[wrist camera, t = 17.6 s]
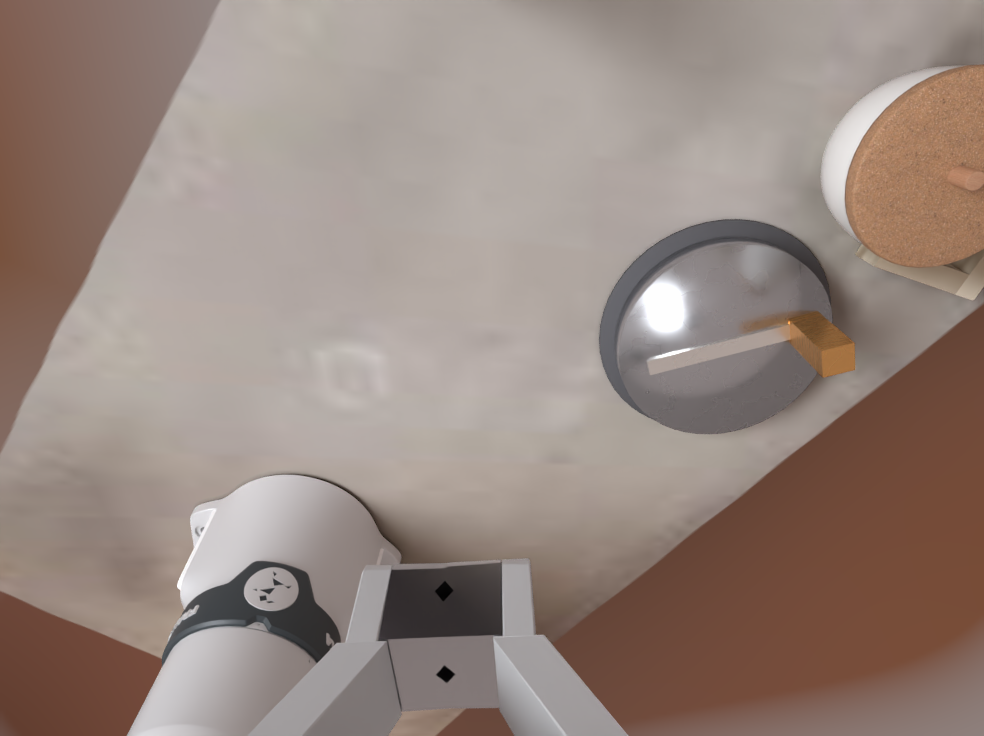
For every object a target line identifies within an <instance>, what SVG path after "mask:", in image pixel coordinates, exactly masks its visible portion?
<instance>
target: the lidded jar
mask: <svg viewBox="0 0 984 736" xmlns="http://www.w3.org/2000/svg"><path fill="white" fill-rule="evenodd" d="M821 185H822V191H823V195H824V199H825V202H826V205H827V206H828V208H829V210H830V212H831V214H832V215H833V217H834V218H835V220H836V221H837V222H838V223H839V224H840V226H841V227H842V228H843V229H844V230H845V231H846V232H847V233H848V234H849V235H851V236H852V237H853V238H855V239H856V240H857V241H859V242H860V243H862V244H863V245H864V246H865V247H866V248H868V249H869V250H870V251H871V252H873V253H874V254H876V255H877V256H879V257H881V258H883V259H885V260H887V261H889V262H891V263H894V264H898V265H901V266H905V267H915V268H924V267H935V266H941V265H946V264H950V263H953V262H956V261H959V260H962V259H965V258H967V257H969V256H971V255H973V254H975V253H977V252H979V251H981V250H983V249H984V65H967V66H941V67H934V68H928V69H923V70H919V71H914V72H911V73H908V74H905V75H902V76H899V77H897V78H894V79H891V80H890V81H888V82H886V83H884V84H882V85H880V86H879V87H877V88H875V89H874V90H872V91H871V92H869V93H868V94H867V95H865V96H864V97H863V98H861V99H860V100H859V101H858V102H857V103H856V104H855V105H854V106H852V107H851V108H850V109H849V111H848V112H847V113H846V114H845V115H844V116H843V118H842V119H841V120H840V122H839V123H838V125H837V126H836V128H835V129H834V131H833V133H832V135H831V137H830V139H829V141H828V143H827V146H826V149H825V152H824V155H823V160H822V165H821Z"/></svg>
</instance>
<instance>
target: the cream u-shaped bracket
mask: <svg viewBox="0 0 984 736" xmlns="http://www.w3.org/2000/svg"><path fill="white" fill-rule="evenodd" d="M855 255H856V256H858V257H860V258H861V259H863V260H864V261H866V262H868V263H869V264H871V265H873V266H874V267H877V268H880V269H883V270H886V271H889V272H892V273H894V274H897V275H900V276H903V277H906V278H909V279H912V280H915V281H918V282H920V283H923V284H926V285H929V286H932V287H935V288H938V289H941V290H944V291H946V292H949V293H952V294H955V295H958V296H961V297H964V298H967V299H970V300H972V301H974V299H975V298H976V297H977V295H978V294H979V293H980V291H981V290H982V289H983V287H984V249H983V250H981V251H979V252H977V253H975V254H973V255H971V256H969V257H967V258H965V259H962V260H959V261H956V262H953V263H950V264H946V265H941V266H935V267H924V268H915V267H905V266H901V265H898V264H894V263H891V262H889V261H887V260H885V259H883V258H881V257H879V256H877V255H876V254H874V253H873V252H871V251H870V250H869V249H868V248H866V247H865V246H864V245H863V244H861V246H860V247H859V249H858V250H857V252H856V254H855Z"/></svg>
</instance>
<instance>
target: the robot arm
mask: <svg viewBox="0 0 984 736" xmlns="http://www.w3.org/2000/svg"><path fill="white" fill-rule="evenodd" d="M190 524H191V531H192V537H193V544H194V550H193V552H192V554H191V556H190V558H189V560H188V562H187V564H186V566H185V568H184V570H183V572H182V574H181V576H180V578H179V581H178V585H177V587H178V589H180V590H181V591H180V596H181V602H182V605H183V607H184V612H183V613H182V615H181V617H180V618H179V619H178V621H177V623H176V624H175V626H174V628H173V630H172V632H171V634H170V636H169V638H168V642H167V643H168V644H167V646H166V648H165V650H164V653H163V656H162V669H161V671H160V673H159V675H158V677H157V679H156V680H155V682H154V685H153V686H152V688H151V690H150V692H149V694H148V696H147V698H146V700H145V702H144V704H143V706H142V708H141V710H140V712H139V713H138V716H137V717H136V719H135V721H134V723H133V725H132V727H131V729H130V731H129V733H128V735H127V736H388V735H389V733H390V732H391V730H392V729H393V727H394V726H395V724H396V723H397V721H398V720H399V718H400V717H401V715H402V713H401V711H417V710H432V709H447V708H499V709H500V712H501V714H502V715H503V717H504V718H505V720H506V722H507V724H508V725H509V727H510V729H511V731H512V732H513V734H514V736H628V735H627V734H626V732H625V731H624V730H623V729H622V728H621V726H620V725H619V724H618V723H617V722H616V721H615V719H614V718H613V717H612V716H611V715H610V713H609V712H608V711H607V710H606V708H605V707H604V706H603V705H602V704H601V702H600V701H599V700H598V699H597V698H596V696H595V695H594V694H593V693H592V692H591V691H590V689H589V688H588V687H587V686H586V684H585V683H584V682H583V681H582V680H581V678H580V677H579V676H578V675H577V674H576V672H575V671H574V670H573V669H572V668H571V666H570V665H569V664H568V663H567V662H566V660H565V659H564V658H563V657H562V655H561V654H560V653H559V652H558V651H557V650H556V648H555V647H554V646H553V645H552V643H551V642H550V641H549V640H548V639H547V637H546V636H545V635H536V629H535V616H534V602H533V589H532V575H531V562H530V560H529V558H526V559H506V560H502V562H501V560H486V561H468V562H449V563H428V564H400V562H401V559H402V556H401V553H400V552H399V551H398V550H397V548H395V547H394V546H393V545H392V544H391V543H390V542H389V541H387V540H386V539H385V538H384V537H383V536H382V535H381V534H380V532H379V530H378V528H377V526H376V524H375V522H374V520H373V518H372V516H371V515H370V513H369V512H368V511H367V510H366V508H365V507H364V506H363V505H362V504H361V503H360V502H359V501H358V500H357V499H355V498H354V497H353V496H352V495H350V494H349V493H347V492H346V491H344V490H342V489H341V488H339V487H337V486H335V485H332V484H330V483H328V482H325V481H322V480H319V479H315V478H311V477H306V476H299V475H275V476H268V477H263V478H259V479H256V480H254V481H251V482H249V483H247V484H245V485H243V486H241V487H240V488H238V489H237V490H236V491H234V492H233V493H232V494H230V495H229V496H227V497H225V498H223V499H220V500H215V501H211V502H207V503H203V504H200V505H198V506H197V507H195V509H194V510H193V513H192V515H191V517H190Z"/></svg>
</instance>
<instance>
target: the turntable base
mask: <svg viewBox="0 0 984 736" xmlns="http://www.w3.org/2000/svg"><path fill="white" fill-rule="evenodd" d="M721 237H748V238H754V239H759V240H762V241H765V242H769V243H772V244H774V245H776V246H778V247H780V248H782V249H784V250H785V251H787V252H788V253H789V254H791V255H792V256H794V257H795V258H796V259H798V260H799V261H800V262H802V263H803V264H804V265H806V266H807V267H808V268H809V269H810V270H811V271H812V272H813V273H814V274H815V275H816V277H817V278H818V279H819V281H820V282H821V283H822V285H823V287H824V289H825V291H826V293H827V295H828V298H829V302H830V305H831V298H830V292H829V286H828V283H827V280H826V277H825V274H824V272H823V270H822V268H821V266H820V264H819V263H818V261H817V259H816V258H815V257H814V256H813V254H812V253H811V252H810V251H809V249H808V248H806V247H805V246H804V245H803V244H802V243H801V242H800V241H799V240H797V239H796V238H794V237H793V236H791V235H789V234H788V233H786V232H785V231H783V230H780V229H778V228H776V227H773V226H771V225H768V224H764V223H760V222H756V221H749V220H740V219H739V220H718V221H711V222H706V223H702V224H698V225H694V226H691V227H688V228H686V229H683V230H681V231H678V232H676V233H674V234H672V235H670V236H668V237H666V238H665V239H663V240H661V241H659V242H658V243H657V244H655V245H654V246H652V247H651V248H649V249H648V250H647V251H646V252H644V253H643V254H642V255H641V256H640V257H639V258H638V259H636V260H635V261H634V262H633V264H632V265H631V266H630V267H629V268H628V269H627V270H626V271H625V273H624V274H623V275H622V277H621V278H620V280H619V281H618V282H617V284H616V285H615V287H614V289H613V291H612V293H611V295H610V297H609V299H608V301H607V304H606V307H605V309H604V312H603V316H602V321H601V325H600V336H599V344H600V354H601V359H602V363H603V367H604V369H605V372H606V374H607V377H608V379H609V381H610V382H611V384H612V386H613V388H614V389H615V390H616V392H617V393H618V394H619V395H620V397H621V398H622V399H623V400H624V401H625V402H627V403H628V404H629V405H630V406H631V407H632V408H634V409H635V410H637V411H638V412H640V413H641V414H643V415H645V416H647V417H649V416H648V415H647V414H645V413H644V412H643V411H642V410H641V409H640V408H639V407H638V406H637V405H636V404H635V402H634V401H633V399H632V398H631V397H630V395H629V393H628V391H627V389H626V387H625V385H624V383H623V380H622V377H621V375H620V372H619V369H618V366H617V363H616V358H615V351H614V337H615V330H616V325H617V321H618V318H619V314H620V312H621V310H622V307H623V305H624V303H625V301H626V299H627V298H628V296H629V294H630V293H631V291H632V290H633V288H634V287H635V286H636V285H637V283H638V282H639V281H640V280H641V279H642V278H643V276H644V275H645V274H646V273H647V272H648V271H649V270H650V269H652V268H653V267H654V266H655V265H657V264H658V263H659V262H660V261H662V260H663V259H665V258H666V257H668V256H670V255H671V254H673V253H674V252H676V251H679V250H681V249H683V248H685V247H687V246H689V245H692V244H695V243H698V242H701V241H705V240H709V239H714V238H721ZM649 418H651V417H649ZM651 419H652V418H651Z"/></svg>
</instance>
